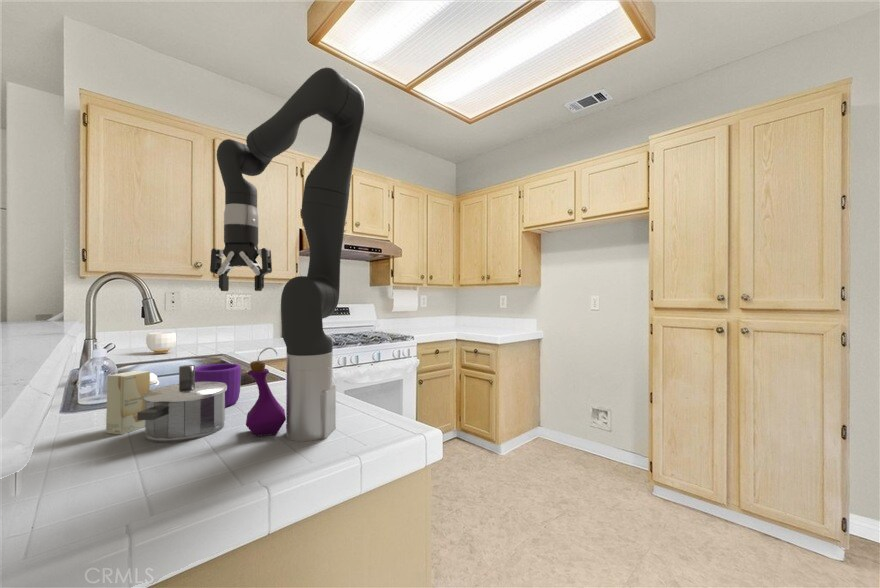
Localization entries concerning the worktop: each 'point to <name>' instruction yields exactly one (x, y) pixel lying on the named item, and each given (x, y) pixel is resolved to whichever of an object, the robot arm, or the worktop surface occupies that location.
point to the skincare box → (126, 401)
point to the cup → (161, 341)
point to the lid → (185, 389)
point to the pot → (183, 419)
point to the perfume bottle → (264, 404)
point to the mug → (222, 378)
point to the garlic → (153, 379)
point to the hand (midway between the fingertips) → (241, 291)
